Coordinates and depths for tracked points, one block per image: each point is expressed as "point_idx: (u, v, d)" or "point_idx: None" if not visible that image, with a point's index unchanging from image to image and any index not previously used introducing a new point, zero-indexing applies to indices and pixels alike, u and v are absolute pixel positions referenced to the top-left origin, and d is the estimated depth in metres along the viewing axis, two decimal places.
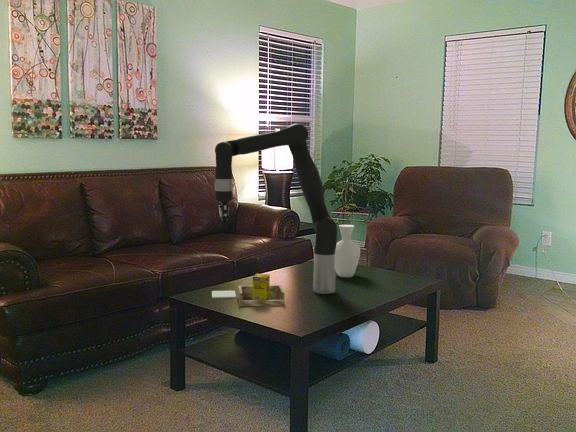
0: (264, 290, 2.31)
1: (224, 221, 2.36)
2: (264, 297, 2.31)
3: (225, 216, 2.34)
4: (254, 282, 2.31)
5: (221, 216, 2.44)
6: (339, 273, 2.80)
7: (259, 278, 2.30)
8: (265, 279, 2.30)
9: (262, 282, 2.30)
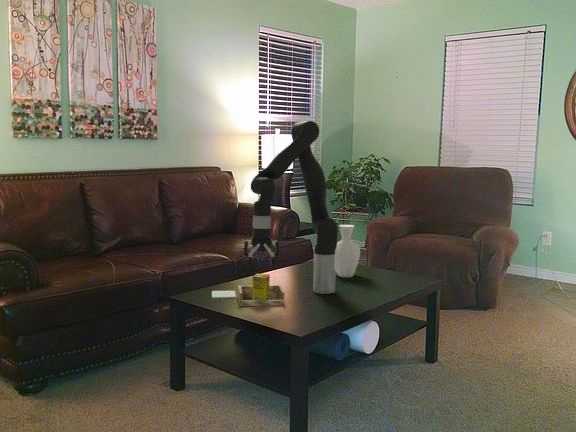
0: (264, 290, 2.31)
1: None
2: (264, 297, 2.31)
3: None
4: (254, 282, 2.31)
5: (251, 255, 2.31)
6: (339, 273, 2.80)
7: (259, 278, 2.30)
8: (265, 279, 2.30)
9: (262, 282, 2.30)
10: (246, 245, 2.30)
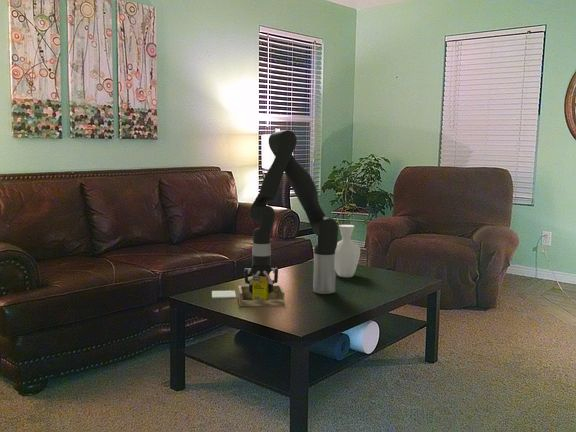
0: (264, 290, 2.31)
1: None
2: (264, 297, 2.31)
3: None
4: (254, 282, 2.31)
5: (252, 283, 2.32)
6: (339, 273, 2.80)
7: (259, 278, 2.30)
8: (265, 279, 2.30)
9: (262, 282, 2.30)
10: (246, 273, 2.31)
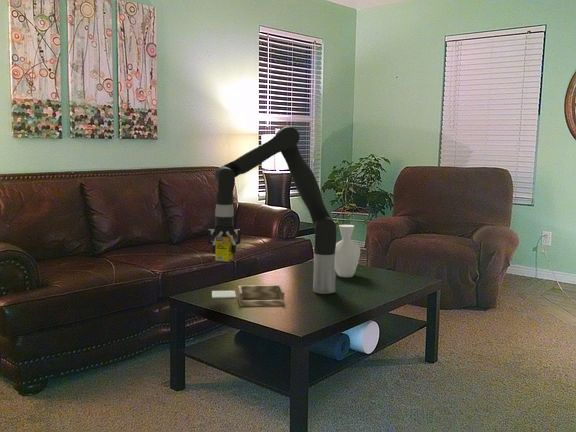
0: (227, 250, 2.37)
1: None
2: (227, 257, 2.37)
3: None
4: (217, 242, 2.37)
5: (215, 244, 2.39)
6: (339, 273, 2.80)
7: (222, 238, 2.37)
8: (227, 239, 2.36)
9: (225, 242, 2.36)
10: (209, 234, 2.37)
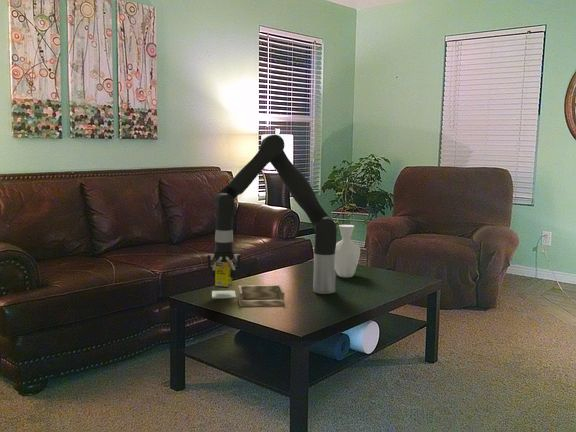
0: (226, 275, 2.38)
1: None
2: (226, 282, 2.39)
3: None
4: (217, 267, 2.39)
5: None
6: (339, 273, 2.80)
7: (221, 264, 2.38)
8: (227, 265, 2.38)
9: (224, 267, 2.38)
10: (209, 259, 2.39)
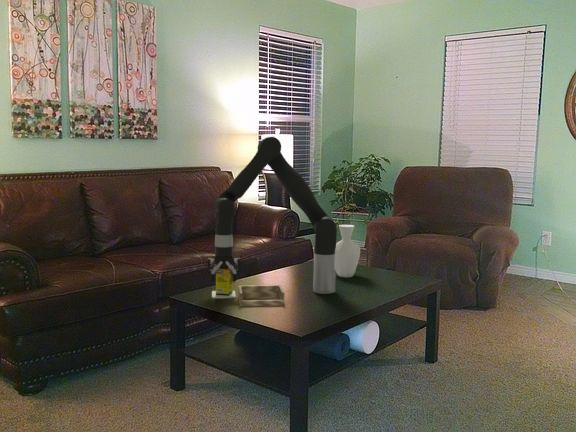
0: (227, 283, 2.39)
1: None
2: (227, 289, 2.39)
3: None
4: (217, 275, 2.39)
5: (214, 272, 2.40)
6: (339, 273, 2.80)
7: (222, 271, 2.39)
8: (228, 272, 2.38)
9: (225, 275, 2.39)
10: (209, 263, 2.39)
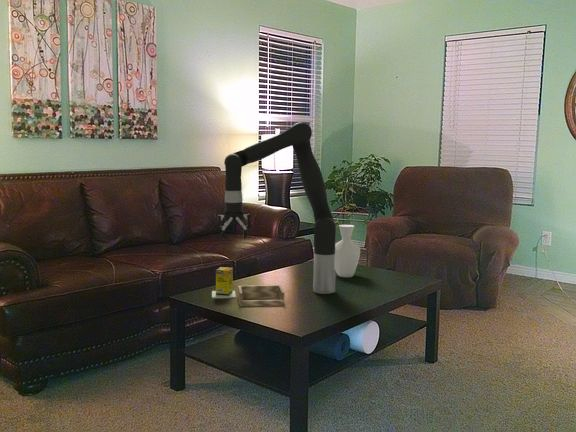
0: (227, 283, 2.39)
1: None
2: (227, 289, 2.39)
3: None
4: (217, 275, 2.39)
5: (224, 229, 2.43)
6: (339, 273, 2.80)
7: (222, 271, 2.39)
8: (228, 272, 2.38)
9: (225, 275, 2.39)
10: (219, 219, 2.42)
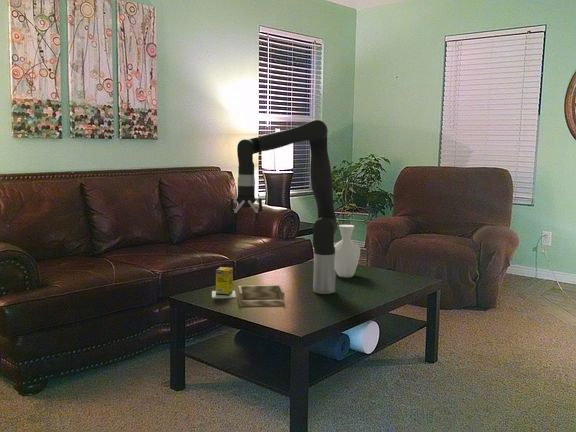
0: (227, 283, 2.39)
1: None
2: (227, 289, 2.39)
3: None
4: (217, 275, 2.39)
5: (236, 211, 2.51)
6: (339, 273, 2.80)
7: (222, 271, 2.39)
8: (228, 272, 2.38)
9: (225, 275, 2.39)
10: (232, 202, 2.50)
